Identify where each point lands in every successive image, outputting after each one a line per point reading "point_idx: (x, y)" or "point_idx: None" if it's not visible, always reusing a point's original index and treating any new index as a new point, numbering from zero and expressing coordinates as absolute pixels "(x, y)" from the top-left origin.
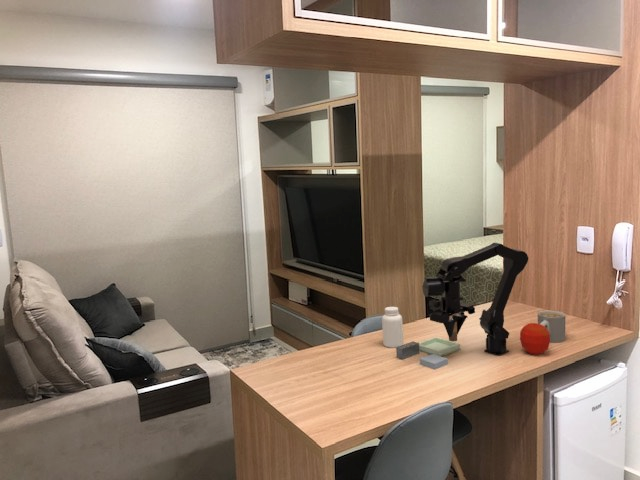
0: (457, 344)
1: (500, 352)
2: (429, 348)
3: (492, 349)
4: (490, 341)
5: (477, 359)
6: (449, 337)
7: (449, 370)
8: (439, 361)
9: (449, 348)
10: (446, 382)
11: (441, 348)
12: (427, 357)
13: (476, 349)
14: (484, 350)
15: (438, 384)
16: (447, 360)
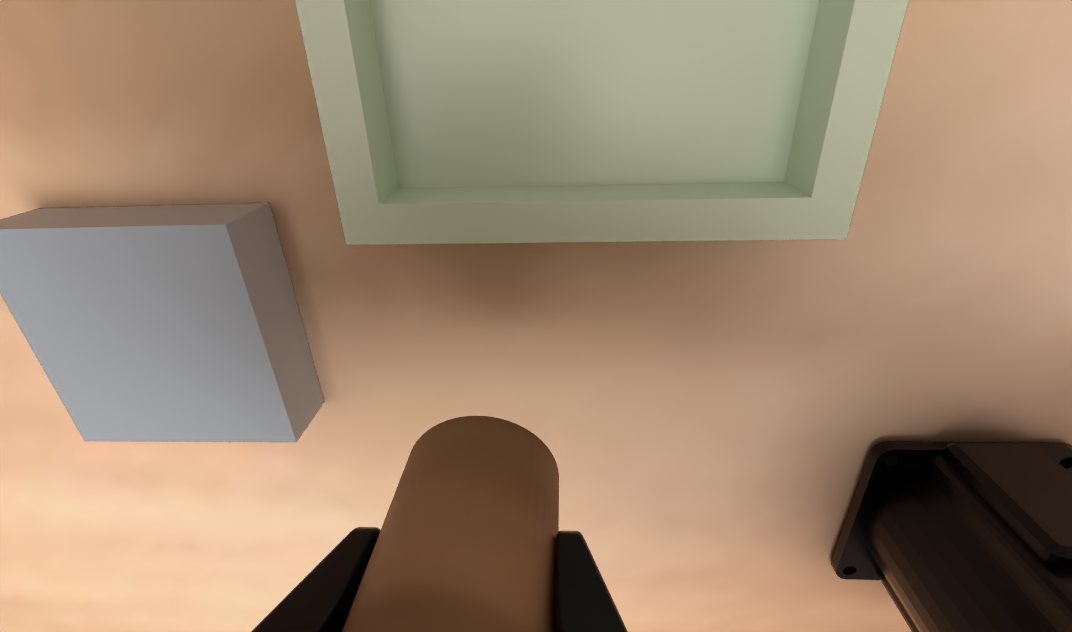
0: (787, 231)
1: (883, 579)
2: (301, 24)
3: (880, 552)
4: (949, 617)
5: (631, 498)
6: (390, 507)
7: (244, 485)
8: (164, 435)
9: (577, 238)
10: (99, 578)
11: (613, 27)
12: (89, 273)
13: (911, 347)
14: (877, 457)
15: (28, 565)
16: (299, 427)
